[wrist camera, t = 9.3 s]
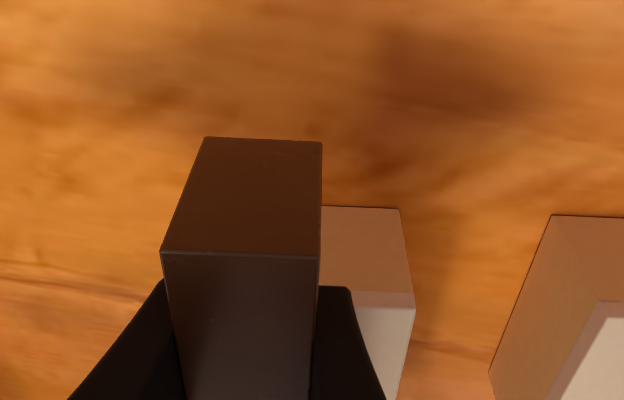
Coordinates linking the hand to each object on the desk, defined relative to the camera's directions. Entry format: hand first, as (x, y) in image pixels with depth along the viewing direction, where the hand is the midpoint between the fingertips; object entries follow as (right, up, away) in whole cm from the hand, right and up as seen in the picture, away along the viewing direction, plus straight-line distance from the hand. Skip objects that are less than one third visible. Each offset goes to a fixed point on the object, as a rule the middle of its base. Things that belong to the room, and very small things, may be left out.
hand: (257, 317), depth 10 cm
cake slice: (+3, -2, +13) cm, 13 cm away
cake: (+13, -2, +13) cm, 18 cm away
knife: (0, -3, +4) cm, 5 cm away
